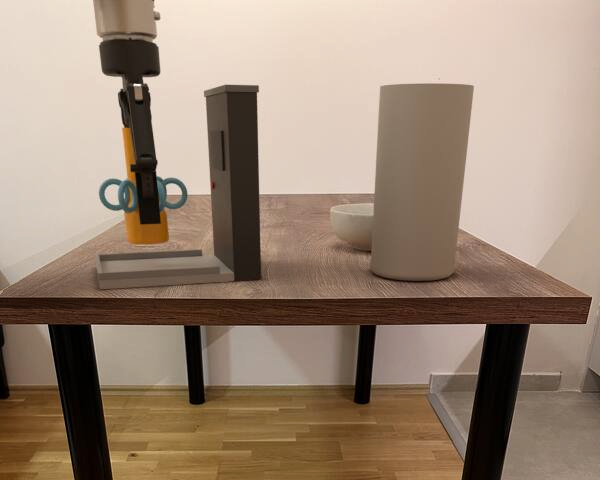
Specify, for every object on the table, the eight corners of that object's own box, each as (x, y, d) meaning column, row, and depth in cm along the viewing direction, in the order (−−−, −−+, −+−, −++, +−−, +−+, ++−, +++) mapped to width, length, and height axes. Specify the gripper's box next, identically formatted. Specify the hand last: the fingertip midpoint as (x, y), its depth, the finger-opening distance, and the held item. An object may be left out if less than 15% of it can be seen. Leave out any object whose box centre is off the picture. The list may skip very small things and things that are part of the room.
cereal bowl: (311, 246, 119) (311, 206, 116) (376, 238, 128) (378, 201, 125) (372, 259, 107) (374, 215, 104) (439, 250, 116) (443, 209, 113)
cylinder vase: (356, 268, 100) (364, 87, 89) (425, 263, 104) (441, 90, 93) (395, 285, 89) (409, 82, 79) (470, 278, 94) (493, 85, 83)
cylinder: (158, 250, 86) (147, 127, 79) (93, 246, 89) (77, 127, 82) (200, 237, 96) (192, 127, 90) (140, 234, 99) (128, 127, 93)
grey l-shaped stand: (100, 289, 86) (72, 80, 75) (96, 268, 99) (72, 88, 89) (262, 279, 92) (258, 85, 82) (239, 260, 106) (232, 91, 95)
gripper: (169, 29, 73) (184, 228, 82) (148, 51, 93) (162, 208, 103) (101, 27, 71) (125, 230, 80) (95, 49, 91) (114, 210, 101)
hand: (146, 218), depth 91 cm, fingers closed on cylinder, 11 cm apart
